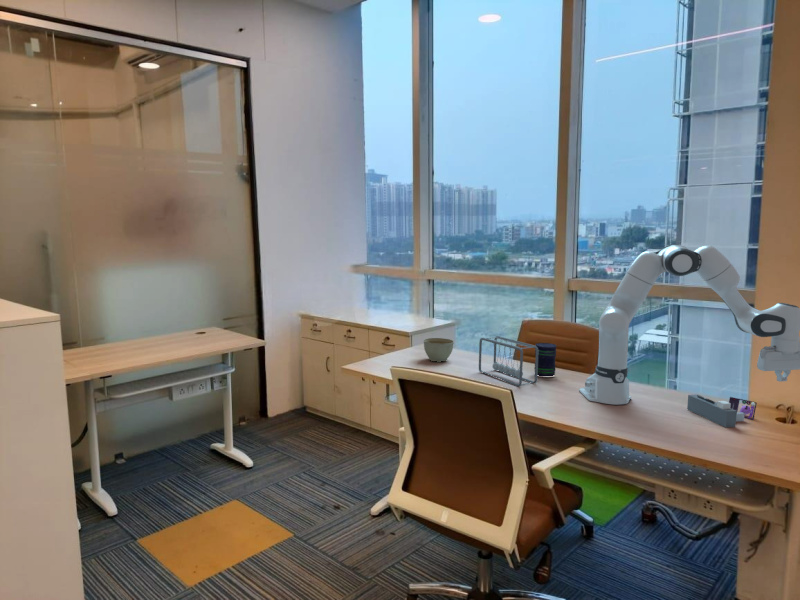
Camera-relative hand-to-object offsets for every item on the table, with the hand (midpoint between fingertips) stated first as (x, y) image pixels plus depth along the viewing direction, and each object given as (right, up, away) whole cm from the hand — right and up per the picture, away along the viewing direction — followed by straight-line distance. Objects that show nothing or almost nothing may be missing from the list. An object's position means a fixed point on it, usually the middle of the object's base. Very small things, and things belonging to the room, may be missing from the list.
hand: (781, 381), depth 210 cm
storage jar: (-76, -6, +56) cm, 95 cm away
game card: (-15, -14, 0) cm, 21 cm away
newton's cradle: (-96, -6, +49) cm, 108 cm away
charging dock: (-25, -13, -3) cm, 29 cm away
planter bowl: (-126, -2, +83) cm, 151 cm away
